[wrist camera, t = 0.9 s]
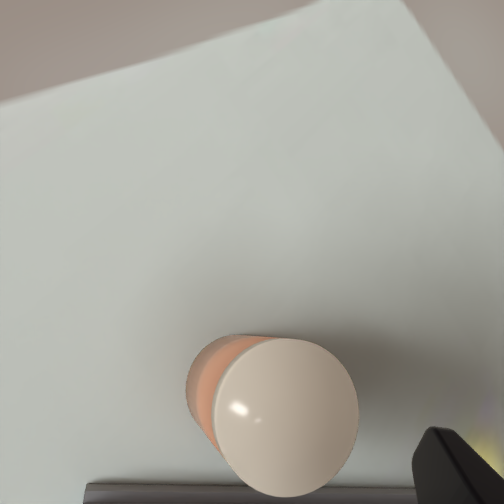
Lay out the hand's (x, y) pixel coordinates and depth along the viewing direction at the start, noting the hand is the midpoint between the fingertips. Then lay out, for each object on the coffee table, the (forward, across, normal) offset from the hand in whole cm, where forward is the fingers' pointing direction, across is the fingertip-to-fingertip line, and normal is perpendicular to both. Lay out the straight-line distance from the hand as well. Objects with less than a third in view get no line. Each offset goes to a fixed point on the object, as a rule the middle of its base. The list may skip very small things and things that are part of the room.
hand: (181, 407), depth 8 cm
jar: (+12, -2, +12) cm, 17 cm away
